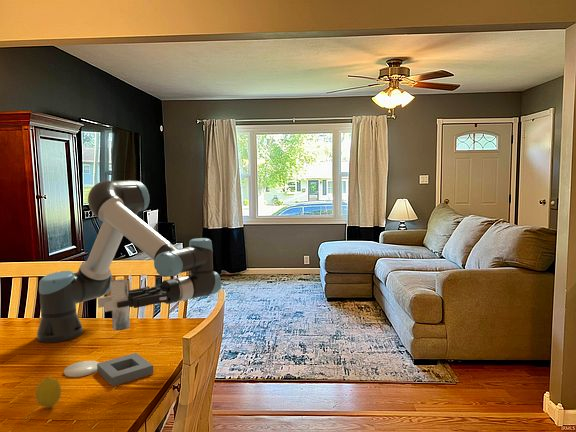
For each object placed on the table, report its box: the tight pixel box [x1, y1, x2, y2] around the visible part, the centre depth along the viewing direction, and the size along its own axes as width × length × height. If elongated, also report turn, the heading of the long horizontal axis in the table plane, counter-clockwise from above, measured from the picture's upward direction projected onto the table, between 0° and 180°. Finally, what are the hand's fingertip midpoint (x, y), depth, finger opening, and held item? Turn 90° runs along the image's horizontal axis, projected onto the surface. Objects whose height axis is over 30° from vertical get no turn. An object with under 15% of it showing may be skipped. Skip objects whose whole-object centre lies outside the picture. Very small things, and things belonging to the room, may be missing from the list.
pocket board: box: [96, 352, 154, 387], centre depth 132 cm, size 13×12×2 cm
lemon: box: [35, 376, 62, 409], centre depth 112 cm, size 6×6×8 cm
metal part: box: [110, 278, 131, 331], centre depth 130 cm, size 5×5×14 cm
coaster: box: [63, 360, 100, 378], centre depth 134 cm, size 10×10×1 cm
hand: (101, 304), depth 126 cm, fingers closed on metal part, 5 cm apart
